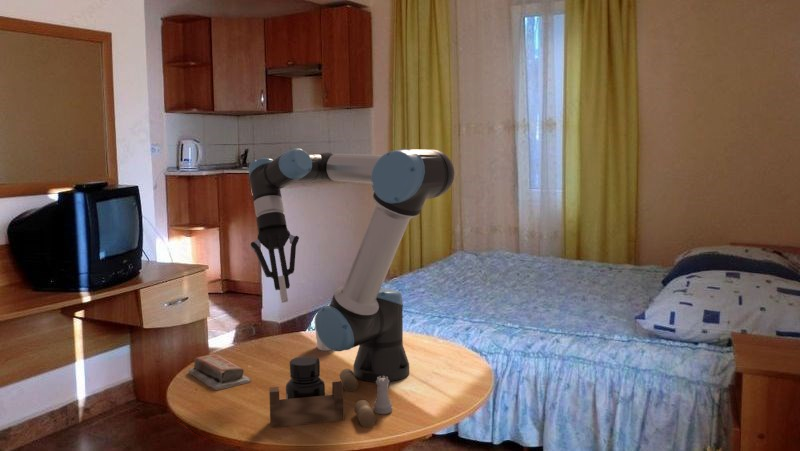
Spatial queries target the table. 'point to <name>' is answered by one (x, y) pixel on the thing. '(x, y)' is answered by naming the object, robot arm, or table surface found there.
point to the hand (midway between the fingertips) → (284, 301)
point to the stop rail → (306, 408)
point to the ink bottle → (305, 378)
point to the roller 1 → (348, 380)
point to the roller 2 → (364, 413)
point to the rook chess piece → (382, 396)
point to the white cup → (320, 342)
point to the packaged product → (218, 372)
